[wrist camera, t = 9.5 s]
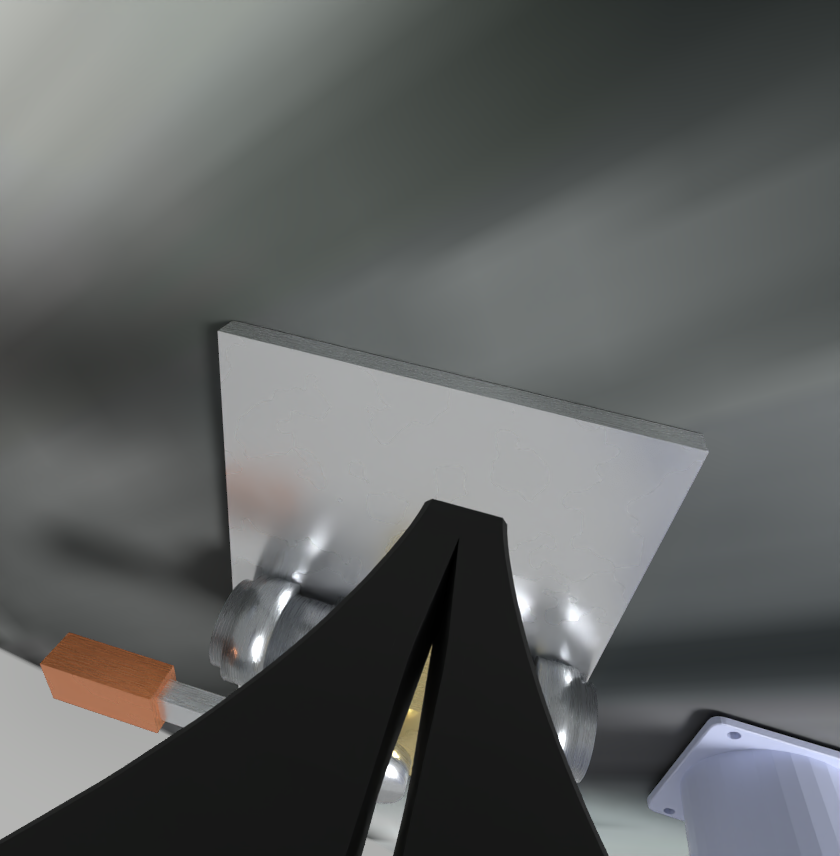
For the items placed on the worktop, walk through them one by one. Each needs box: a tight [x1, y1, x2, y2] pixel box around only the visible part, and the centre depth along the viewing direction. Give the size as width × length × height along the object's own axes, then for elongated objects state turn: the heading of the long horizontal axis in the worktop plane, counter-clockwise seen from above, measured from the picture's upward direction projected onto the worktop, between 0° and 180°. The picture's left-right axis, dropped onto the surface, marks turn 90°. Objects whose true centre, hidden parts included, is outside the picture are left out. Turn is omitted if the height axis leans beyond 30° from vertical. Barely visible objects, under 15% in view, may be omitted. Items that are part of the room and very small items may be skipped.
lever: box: [40, 632, 412, 803], centre depth 20 cm, size 14×3×1 cm, turn 82°
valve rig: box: [209, 321, 709, 783], centre depth 22 cm, size 16×22×6 cm
